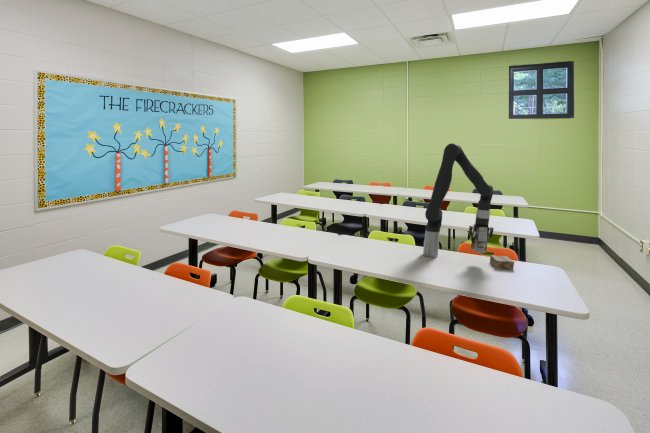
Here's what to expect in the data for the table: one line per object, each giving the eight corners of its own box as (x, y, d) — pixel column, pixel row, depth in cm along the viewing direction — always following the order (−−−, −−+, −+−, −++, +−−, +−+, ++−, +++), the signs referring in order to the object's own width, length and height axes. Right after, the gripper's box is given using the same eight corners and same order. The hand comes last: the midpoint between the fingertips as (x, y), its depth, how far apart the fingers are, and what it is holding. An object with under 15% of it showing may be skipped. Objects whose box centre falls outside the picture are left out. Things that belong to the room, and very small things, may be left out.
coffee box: (486, 253, 214) (490, 227, 211) (476, 252, 214) (479, 226, 211) (480, 248, 223) (483, 224, 220) (470, 248, 223) (473, 223, 220)
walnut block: (495, 268, 212) (496, 260, 212) (489, 262, 224) (490, 255, 223) (513, 269, 211) (514, 261, 210) (506, 263, 222) (507, 256, 222)
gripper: (471, 217, 212) (468, 243, 215) (496, 218, 209) (493, 245, 213) (468, 215, 219) (465, 240, 222) (493, 216, 217) (489, 242, 220)
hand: (479, 242), depth 217 cm, fingers closed on coffee box, 7 cm apart
